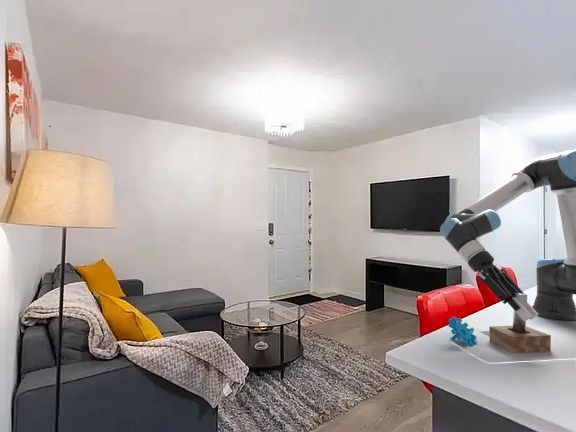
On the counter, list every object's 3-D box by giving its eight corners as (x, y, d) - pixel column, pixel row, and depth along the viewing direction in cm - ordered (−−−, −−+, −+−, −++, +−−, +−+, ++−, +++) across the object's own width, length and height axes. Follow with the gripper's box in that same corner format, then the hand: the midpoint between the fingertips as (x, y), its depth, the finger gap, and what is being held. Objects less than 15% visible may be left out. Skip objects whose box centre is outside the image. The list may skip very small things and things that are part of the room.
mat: (505, 331, 122) (505, 330, 122) (523, 339, 114) (523, 338, 114) (479, 332, 120) (479, 331, 120) (495, 340, 113) (495, 339, 113)
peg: (519, 328, 108) (521, 292, 108) (527, 331, 105) (530, 295, 105) (510, 328, 108) (512, 292, 108) (518, 331, 105) (520, 295, 104)
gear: (464, 345, 104) (445, 315, 111) (450, 354, 107) (433, 325, 114) (486, 343, 109) (467, 315, 116) (472, 353, 113) (454, 325, 119)
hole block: (523, 340, 113) (523, 325, 113) (550, 352, 103) (550, 335, 103) (489, 342, 111) (489, 326, 111) (513, 354, 101) (513, 337, 101)
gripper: (481, 262, 124) (534, 320, 110) (454, 265, 116) (508, 329, 102) (497, 248, 120) (554, 307, 106) (470, 250, 111) (528, 315, 97)
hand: (531, 317), depth 104 cm, fingers closed on peg, 3 cm apart
